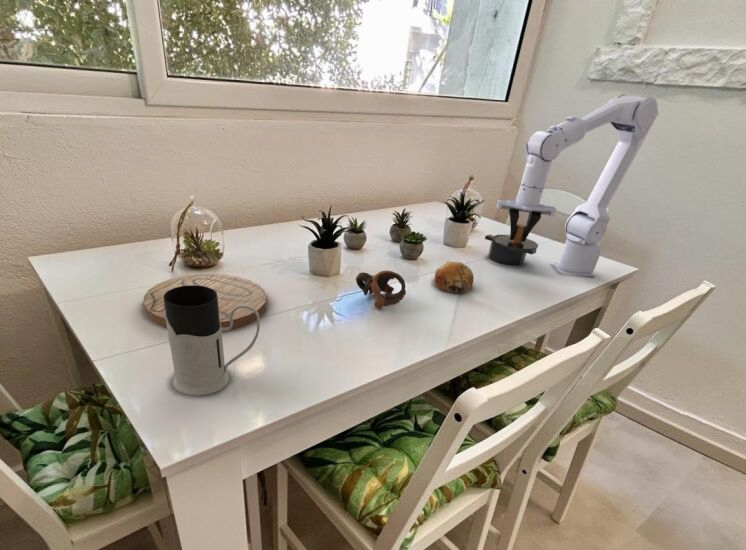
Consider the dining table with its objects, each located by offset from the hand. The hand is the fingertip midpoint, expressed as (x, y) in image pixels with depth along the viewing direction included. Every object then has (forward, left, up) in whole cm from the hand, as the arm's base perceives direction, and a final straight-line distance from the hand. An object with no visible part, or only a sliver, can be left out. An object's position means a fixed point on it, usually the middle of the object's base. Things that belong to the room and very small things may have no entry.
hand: (517, 239), depth 123 cm
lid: (0, 0, -1) cm, 1 cm away
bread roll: (+17, +13, -10) cm, 24 cm away
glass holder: (+63, +63, -10) cm, 90 cm away
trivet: (+73, +36, -10) cm, 82 cm away
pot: (-2, -11, -10) cm, 15 cm away
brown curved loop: (+36, +26, -10) cm, 46 cm away
